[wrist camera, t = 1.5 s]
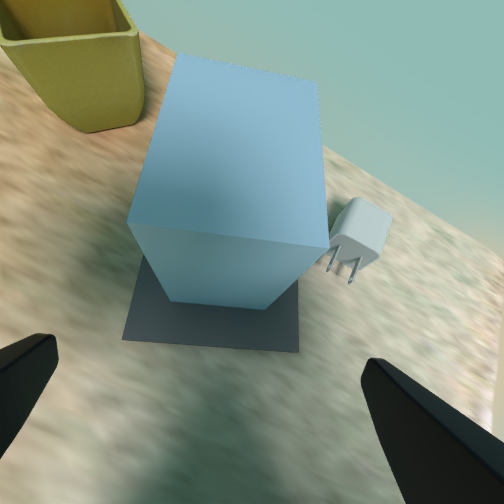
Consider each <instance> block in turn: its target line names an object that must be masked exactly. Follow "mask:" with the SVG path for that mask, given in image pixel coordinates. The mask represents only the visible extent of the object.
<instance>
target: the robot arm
mask: <svg viewBox="0 0 504 504" xmlns="http://www.w3.org/2000/svg"><path fill="white" fill-rule="evenodd" d="M58 360H59V357H58V349H57V342H56V337H55V336H54V335H52V334H43V333H36V334H33V335H31V336H29V337H26V338H24V339H22V340H20V341H18V342H15V343H13V344H11V345H9V346H6V347H4V348H2V349H0V459H1V457H2V456H3V454H4V453H5V452H6V450H7V449H8V447H9V446H10V444H11V443H12V441H13V440H14V438H15V437H16V435H17V434H18V432H19V431H20V429H21V428H22V426H23V425H24V423H25V421H26V420H27V418H28V416H29V415H30V413H31V411H32V409H33V408H34V406H35V404H36V402H37V401H38V399H39V397H40V395H41V394H42V392H43V390H44V388H45V387H46V385H47V383H48V381H49V380H50V378H51V376H52V374H53V373H54V371H55V369H56V367H57V365H58ZM361 387H362V390H363V393H364V396H365V399H366V402H367V405H368V408H369V411H370V414H371V418H372V421H373V424H374V427H375V430H376V433H377V436H378V438H379V441H380V444H381V446H382V449H383V451H384V453H385V456H386V458H387V461H388V463H389V465H390V468H391V470H392V472H393V475H394V477H395V479H396V482H397V484H398V487H399V489H400V491H401V494H402V496H403V498H404V501H405V503H406V504H504V443H503V442H502V441H500V440H499V439H498V438H496V437H495V436H493V435H492V434H490V433H489V432H488V431H486V430H485V429H483V428H482V427H480V426H479V425H478V424H476V423H475V422H473V421H472V420H470V419H469V418H468V417H466V416H465V415H463V414H462V413H460V412H459V411H458V410H456V409H455V408H453V407H452V406H450V405H449V404H448V403H446V402H445V401H443V400H442V399H440V398H439V397H438V396H436V395H435V394H433V393H432V392H430V391H429V390H428V389H426V388H425V387H423V386H422V385H420V384H419V383H418V382H416V381H415V380H413V379H412V378H410V377H409V376H408V375H406V374H405V373H403V372H402V371H400V370H399V369H398V368H396V367H395V366H393V365H392V364H390V363H389V362H388V361H386V360H385V359H382V358H370V359H368V361H367V363H366V366H365V368H364V371H363V373H362V376H361Z"/></svg>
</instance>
